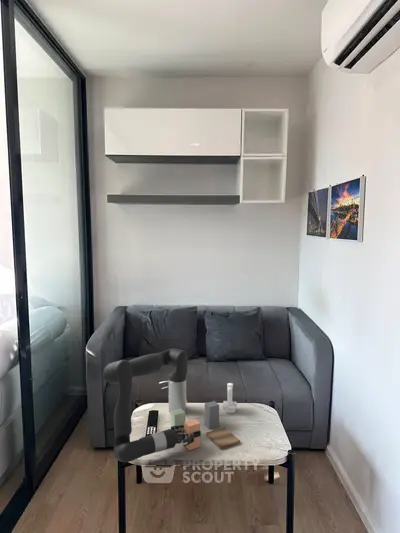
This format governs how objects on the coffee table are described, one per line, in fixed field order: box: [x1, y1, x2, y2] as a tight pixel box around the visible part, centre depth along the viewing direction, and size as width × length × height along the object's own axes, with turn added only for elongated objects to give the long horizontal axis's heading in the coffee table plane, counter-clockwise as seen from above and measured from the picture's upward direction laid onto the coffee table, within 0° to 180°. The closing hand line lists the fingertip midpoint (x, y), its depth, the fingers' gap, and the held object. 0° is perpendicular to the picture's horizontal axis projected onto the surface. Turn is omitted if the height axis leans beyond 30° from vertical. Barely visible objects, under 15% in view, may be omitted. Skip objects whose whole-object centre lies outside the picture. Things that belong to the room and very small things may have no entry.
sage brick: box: [170, 409, 186, 427], centre depth 175 cm, size 4×6×11 cm
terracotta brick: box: [184, 418, 201, 451], centre depth 165 cm, size 4×6×11 cm
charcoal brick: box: [204, 400, 220, 430], centre depth 183 cm, size 4×6×11 cm
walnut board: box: [205, 426, 241, 450], centre depth 171 cm, size 13×10×2 cm
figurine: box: [222, 382, 238, 414], centre depth 198 cm, size 7×9×15 cm
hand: (197, 430), depth 167 cm, fingers closed on terracotta brick, 4 cm apart
